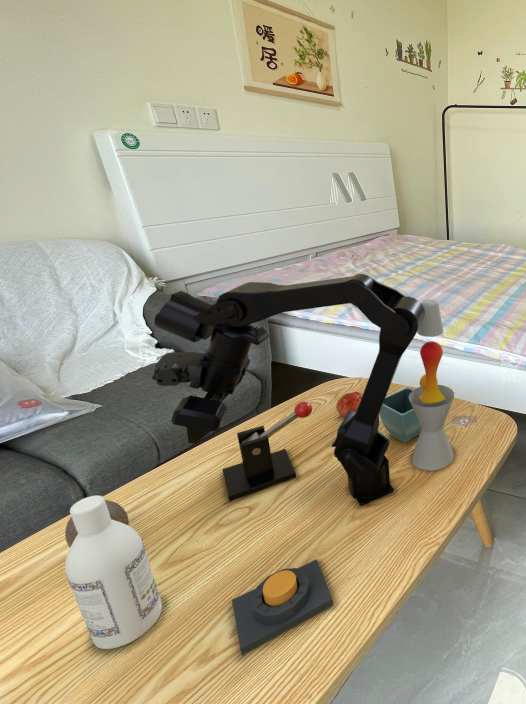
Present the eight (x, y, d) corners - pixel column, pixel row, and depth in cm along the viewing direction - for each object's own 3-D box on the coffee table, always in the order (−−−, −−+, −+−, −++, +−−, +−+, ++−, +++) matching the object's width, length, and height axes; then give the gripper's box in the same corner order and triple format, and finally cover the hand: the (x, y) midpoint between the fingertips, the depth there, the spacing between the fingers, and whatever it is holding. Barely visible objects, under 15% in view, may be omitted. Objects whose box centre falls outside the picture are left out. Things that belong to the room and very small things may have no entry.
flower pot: (408, 418, 105) (407, 386, 102) (434, 432, 100) (433, 398, 97) (378, 435, 98) (375, 401, 95) (403, 451, 94) (402, 415, 91)
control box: (317, 565, 67) (315, 550, 66) (333, 605, 61) (331, 589, 60) (233, 606, 60) (229, 590, 59) (242, 655, 54) (238, 639, 53)
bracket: (286, 453, 91) (280, 415, 88) (296, 477, 84) (290, 437, 81) (223, 474, 84) (214, 433, 81) (229, 502, 78) (220, 459, 75)
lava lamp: (461, 461, 91) (462, 304, 80) (420, 476, 86) (415, 312, 75) (443, 439, 98) (442, 291, 87) (405, 451, 93) (397, 297, 82)
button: (293, 574, 62) (292, 565, 62) (300, 595, 60) (298, 586, 59) (262, 589, 60) (260, 580, 59) (267, 612, 57) (265, 602, 57)
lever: (313, 406, 89) (304, 395, 87) (317, 413, 86) (308, 402, 85) (250, 449, 83) (239, 438, 82) (253, 458, 81) (242, 447, 79)
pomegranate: (336, 436, 101) (367, 418, 98) (319, 410, 100) (349, 391, 97) (355, 422, 108) (384, 404, 105) (338, 398, 107) (367, 379, 104)
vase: (97, 569, 64) (80, 523, 61) (60, 559, 66) (42, 513, 63) (144, 532, 71) (131, 489, 68) (110, 524, 72) (95, 481, 69)
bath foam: (156, 589, 62) (120, 475, 55) (169, 621, 58) (132, 502, 51) (89, 625, 57) (40, 504, 50) (98, 664, 53) (47, 538, 46)
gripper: (192, 312, 76) (170, 382, 81) (141, 370, 60) (117, 454, 65) (261, 331, 81) (237, 396, 86) (231, 390, 65) (203, 466, 70)
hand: (202, 424), depth 76 cm, fingers open, 9 cm apart
